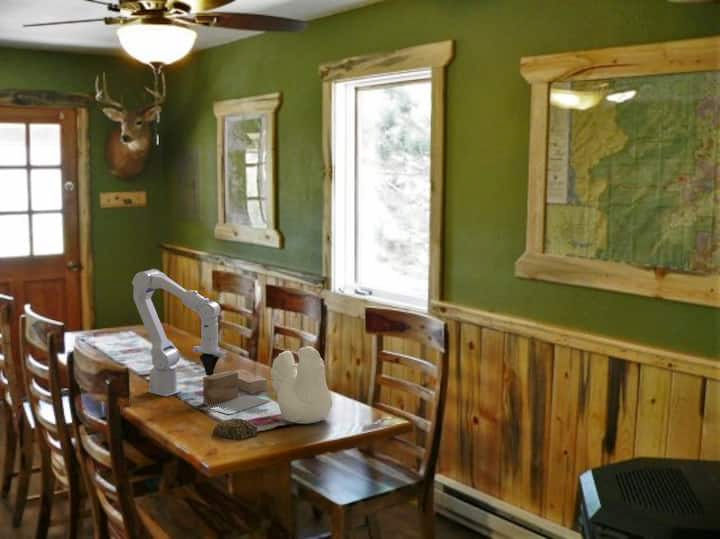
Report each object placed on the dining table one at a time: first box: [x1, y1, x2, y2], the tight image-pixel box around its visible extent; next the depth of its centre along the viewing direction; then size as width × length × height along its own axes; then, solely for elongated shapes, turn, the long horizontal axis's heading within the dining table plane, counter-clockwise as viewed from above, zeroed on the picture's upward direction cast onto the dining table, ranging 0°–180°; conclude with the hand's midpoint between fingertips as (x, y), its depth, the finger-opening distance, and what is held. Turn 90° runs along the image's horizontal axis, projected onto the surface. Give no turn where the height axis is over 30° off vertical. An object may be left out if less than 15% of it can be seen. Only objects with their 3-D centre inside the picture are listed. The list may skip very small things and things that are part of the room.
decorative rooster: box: [270, 345, 333, 424], centre depth 252 cm, size 25×16×25 cm, turn 33°
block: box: [202, 370, 239, 406], centre depth 270 cm, size 4×12×9 cm, turn 145°
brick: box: [231, 369, 268, 394], centre depth 288 cm, size 17×8×5 cm, turn 43°
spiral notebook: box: [206, 394, 271, 412], centre depth 265 cm, size 11×20×1 cm, turn 145°
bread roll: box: [212, 418, 258, 441], centre depth 237 cm, size 13×12×5 cm
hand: (209, 375), depth 272 cm, fingers closed
